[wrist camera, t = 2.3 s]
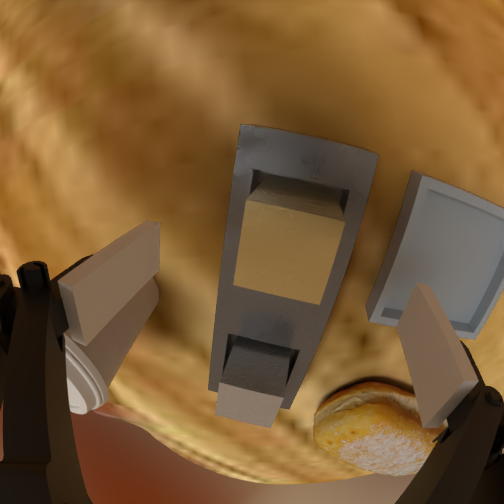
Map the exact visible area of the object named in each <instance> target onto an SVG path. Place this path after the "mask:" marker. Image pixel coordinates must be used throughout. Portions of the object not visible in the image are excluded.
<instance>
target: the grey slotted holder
mask: <svg viewBox="0 0 504 504" xmlns="http://www.w3.org/2000/svg"><path fill="white" fill-rule="evenodd" d="M378 156H379V154H377V153H374V152H372V151H370V150H367V149H364V148H360V147H357V146H353V145H349V144H345V143H341V142H338V141H333V140H329V139H325V138H321V137H317V136H312V135H307V134H303V133H298V132H293V131H288V130H283V129H277V128H272V127H266V126H260V125H253V124H241V126H240V132H239V138H238V145H237V152H236V158H235V165H234V172H233V179H232V186H231V193H230V200H229V207H228V215H227V222H226V230H225V238H224V246H223V254H222V262H221V270H220V278H219V287H218V296H217V305H216V314H215V323H214V333H213V342H212V352H211V363H210V373H209V384H208V390H211V391H214V392H218V389H219V382H220V379H221V377H222V374H223V372H224V369H225V366H226V364H227V361H228V358H229V356H230V353H231V350H232V347H233V345H234V342H235V339H236V337H237V335H238V336H242V337H245V338H249V339H254V340H258V341H262V342H266V343H270V344H275V345H279V346H283V347H288V348H291V354H290V361H289V368H288V375H287V381H286V388H285V394H284V399H283V401H282V403H281V406H280V408H284V409H290V407H291V405H292V403H293V400H294V398H295V396H296V394H297V392H298V390H299V388H300V385H301V383H302V381H303V379H304V376H305V374H306V372H307V370H308V367H309V365H310V363H311V360H312V358H313V356H314V353H315V351H316V349H317V346H318V344H319V341H320V339H321V336H322V334H323V331H324V329H325V326H326V324H327V321H328V319H329V316H330V313H331V311H332V308H333V305H334V303H335V300H336V297H337V295H338V292H339V289H340V286H341V283H342V280H343V278H344V275H345V272H346V269H347V266H348V263H349V260H350V257H351V254H352V251H353V247H354V244H355V241H356V238H357V234H358V231H359V228H360V224H361V221H362V218H363V214H364V211H365V207H366V203H367V200H368V196H369V192H370V189H371V185H372V181H373V177H374V173H375V169H376V165H377V160H378ZM268 174H272V175H277V176H282V177H286V178H291V179H296V180H300V181H305V182H309V183H313V184H318V185H322V186H326V187H330V188H334V190H335V193H336V195H337V198H338V201H339V204H340V207H341V210H342V213H343V216H344V219H345V226H344V229H343V233H342V236H341V239H340V243H339V246H338V250H337V253H336V256H335V259H334V263H333V266H332V269H331V272H330V275H329V278H328V281H327V285H326V288H325V291H324V294H323V297H322V300H321V302H320V305H317V304H312V303H308V302H303V301H299V300H295V299H290V298H286V297H281V296H277V295H273V294H269V293H264V292H260V291H256V290H252V289H248V288H244V287H240V286H235V285H233V283H234V276H235V269H236V262H237V256H238V249H239V242H240V236H241V229H242V223H243V216H244V210H245V204H246V199H247V198H248V197H249V196H250V195H251V194H252V192H253V191H254V190H255V189H256V188H257V187H258V186H259V184H260V183H261V182H262V181H263V180H264V179H265V178H266V176H267V175H268Z"/></svg>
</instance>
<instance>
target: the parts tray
mask: <svg viewBox="0 0 504 504" xmlns="http://www.w3.org/2000/svg"><path fill="white" fill-rule="evenodd" d="M416 283H421V284H425V285H429V286H430V288H431V290H432V291H433V293H434V295H435V296H436V298H437V300H438V302H439V303H440V305H441V307H442V308H443V310H444V312H445V314H446V316H447V317H448V319H449V321H450V323H451V325H452V327H453V329H454V330H455V332H456V334H457V336H458V337H459V338H466V339H473V340H475V339H476V338H477V336H478V334H479V333H480V331H481V329H482V328H483V326H484V324H485V323H486V321H487V319H488V318H489V316H490V314H491V312H492V310H493V309H494V307H495V305H496V303H497V301H498V299H499V297H500V295H501V293H502V291H503V289H504V207H501V206H499V205H497V204H495V203H493V202H491V201H489V200H487V199H484V198H482V197H480V196H478V195H475V194H473V193H471V192H468V191H466V190H464V189H461V188H459V187H456V186H454V185H451V184H449V183H446V182H444V181H441V180H439V179H436V178H433V177H430V176H428V175H425V174H422V173H419V172H416V171H414V170H412V171H411V175H410V179H409V183H408V187H407V190H406V194H405V197H404V201H403V204H402V207H401V211H400V214H399V217H398V220H397V223H396V227H395V230H394V233H393V236H392V239H391V241H390V244H389V247H388V250H387V253H386V256H385V258H384V261H383V264H382V266H381V269H380V272H379V274H378V277H377V279H376V282H375V284H374V287H373V289H372V292H371V294H370V297H369V299H368V302H367V304H366V311H367V315H368V320H369V322H372V323H378V324H383V325H388V326H394V327H396V325H397V323H398V321H399V319H400V317H401V315H402V313H403V311H404V309H405V307H406V305H407V303H408V301H409V299H410V296H411V294H412V292H413V290H414V288H415V285H416Z"/></svg>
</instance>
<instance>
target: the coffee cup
mask: <svg viewBox="0 0 504 504" xmlns="http://www.w3.org/2000/svg"><path fill="white" fill-rule="evenodd" d="M158 301H159V289H158V286H157V283H156V281H155V279H154V278H153V277H152V278H151V279H150V280H149V281H148V282H147V283H146V284H145V285H144V286H143V287H142V288H141V289H140V290H139V291H138V292H137V293H136V294H135V295H134V296H133V297H132V298H131V299H130V300H129V301H128V302H127V303H126V304H125V305H124V307H123V308H122V309H121V310H120V311H119V312H118V313H117V314H116V315H115V316H114V317H113V318H112V319H111V320H110V321H109V322H108V323H107V324H106V325H105V327H104V328H103V329H102V330H101V331H100V332H99V333H98V334H97V335H96V336H95V337H94V338H93V339H92V341H91V342H90V343H89V344H88V345H87V346H84V345H82V344H80V343H78V342H76V341H74V340H72V337H71V334H70V330H69V329H68V330H66V331H65V332H64V333H63V334H64V337H65V350H66V372H67V386H68V397H69V406H70V411H72V412H74V413H77V414H85V413H86V412H88V411H89V410H93V409H97V408H98V407H100V406H102V405H103V404H104V403H106V402H107V401H108V398H109V392H108V387H109V385H110V384H111V382H112V380H113V378H114V376H115V374H116V373H117V371H118V369H119V367H120V366H121V364H122V362H123V360H124V359H125V357H126V355H127V353H128V352H129V350H130V348H131V347H132V345H133V343H134V342H135V340H136V338H137V336H138V335H139V333H140V331H141V330H142V328H143V327H144V325H145V323H146V322H147V320H148V318H149V317H150V315H151V313H152V312H153V310H154V309H155V307H156V305H157V304H158Z"/></svg>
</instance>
